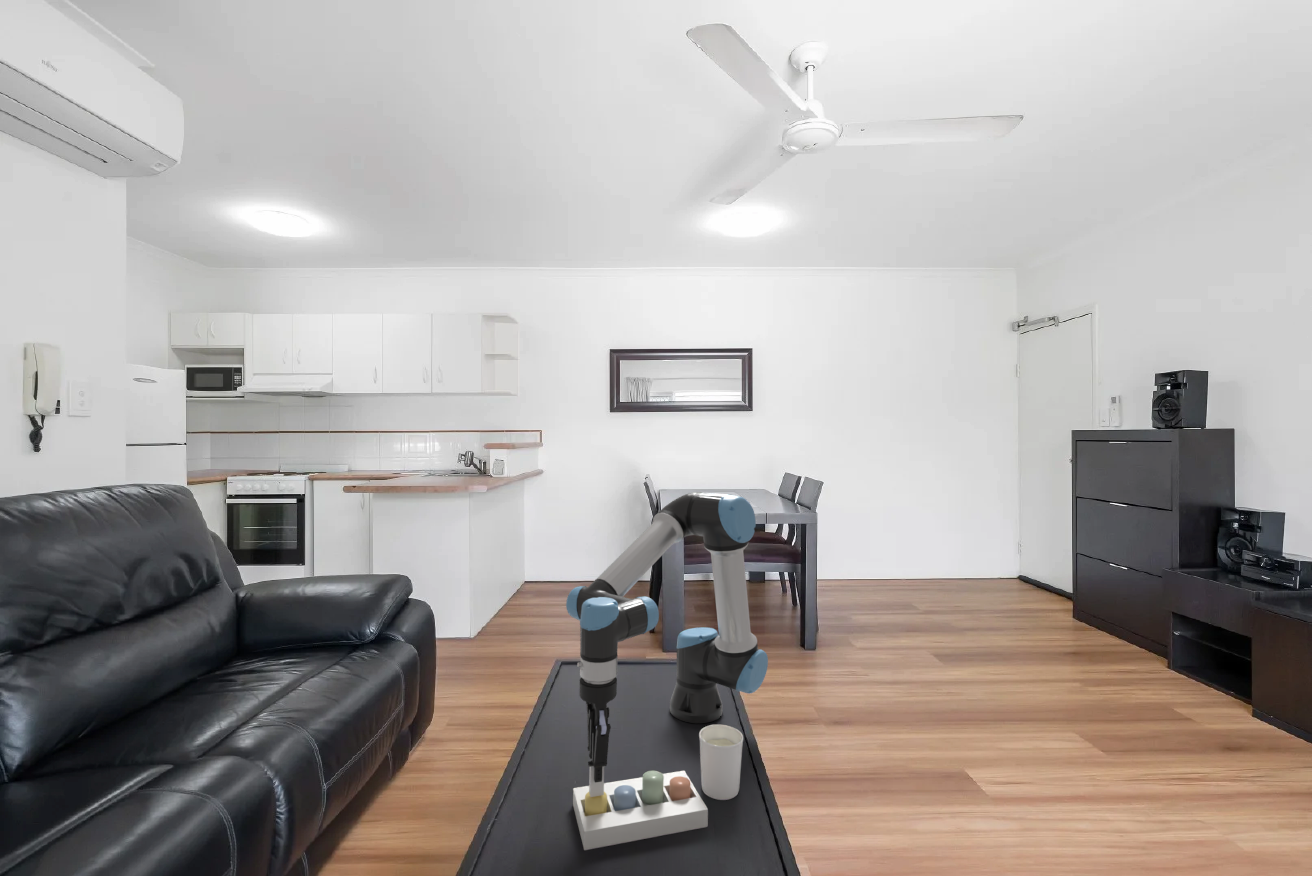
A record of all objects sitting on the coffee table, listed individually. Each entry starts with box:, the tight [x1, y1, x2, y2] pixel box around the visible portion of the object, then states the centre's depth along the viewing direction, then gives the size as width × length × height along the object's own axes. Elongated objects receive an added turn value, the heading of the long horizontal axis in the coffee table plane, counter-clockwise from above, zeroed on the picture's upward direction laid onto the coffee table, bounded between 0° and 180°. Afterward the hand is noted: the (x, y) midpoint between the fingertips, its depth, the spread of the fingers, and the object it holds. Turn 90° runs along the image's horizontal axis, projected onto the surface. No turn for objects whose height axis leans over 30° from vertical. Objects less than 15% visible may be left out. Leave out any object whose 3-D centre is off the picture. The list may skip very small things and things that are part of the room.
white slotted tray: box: [572, 770, 709, 851], centre depth 118 cm, size 25×14×4 cm, turn 107°
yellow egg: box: [585, 792, 607, 816], centre depth 115 cm, size 4×4×4 cm
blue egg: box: [614, 785, 636, 811], centre depth 117 cm, size 4×4×4 cm
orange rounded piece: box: [669, 776, 691, 801], centre depth 120 cm, size 4×4×4 cm
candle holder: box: [698, 723, 744, 801], centre depth 127 cm, size 10×10×12 cm
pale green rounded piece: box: [642, 770, 664, 805], centre depth 119 cm, size 4×4×4 cm
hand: (596, 793), depth 115 cm, fingers closed
